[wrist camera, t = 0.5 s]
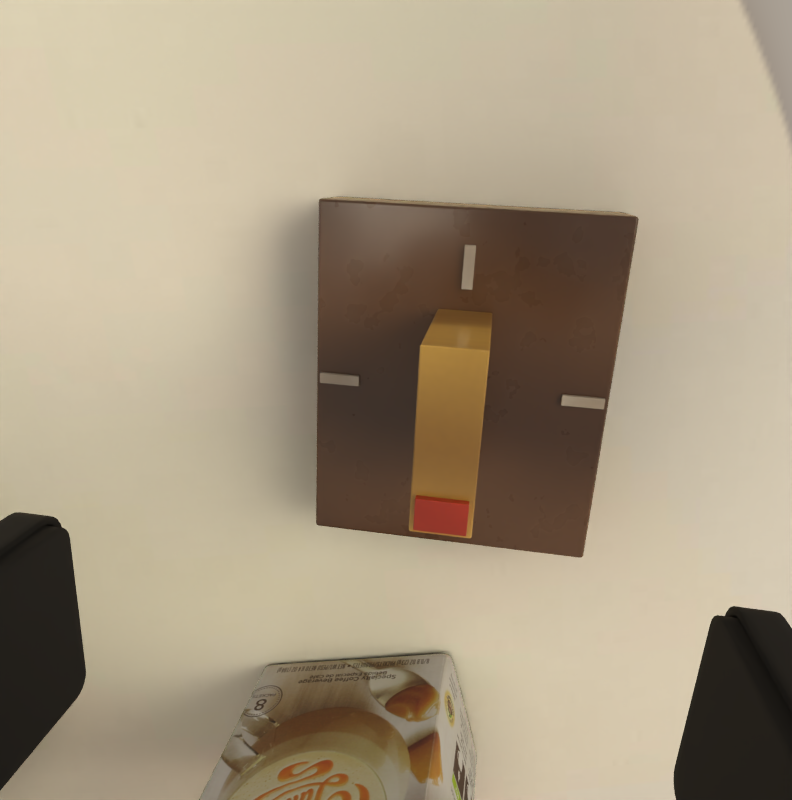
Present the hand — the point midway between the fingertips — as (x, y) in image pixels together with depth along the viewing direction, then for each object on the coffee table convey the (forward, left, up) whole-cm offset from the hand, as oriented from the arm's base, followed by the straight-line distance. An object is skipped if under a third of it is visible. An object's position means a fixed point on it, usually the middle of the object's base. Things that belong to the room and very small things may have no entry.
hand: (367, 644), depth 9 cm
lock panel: (0, +1, -16) cm, 16 cm away
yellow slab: (0, +1, -14) cm, 14 cm away
